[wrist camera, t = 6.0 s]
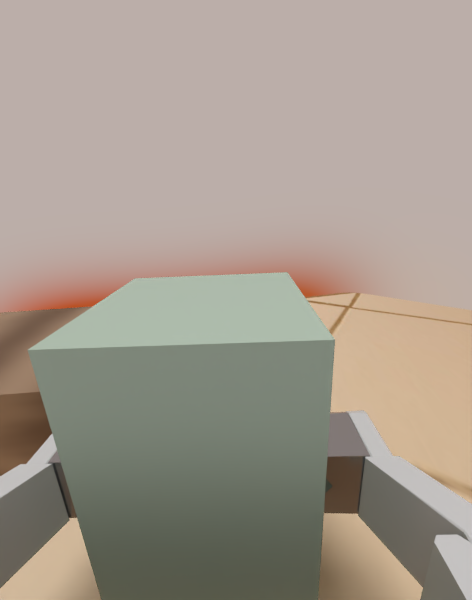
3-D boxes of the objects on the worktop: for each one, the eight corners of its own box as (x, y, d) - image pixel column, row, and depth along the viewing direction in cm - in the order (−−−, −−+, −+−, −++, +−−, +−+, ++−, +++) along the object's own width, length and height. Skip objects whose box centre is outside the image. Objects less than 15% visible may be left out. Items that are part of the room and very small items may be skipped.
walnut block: (-185, 503, 13) (-244, 414, 12) (-1, 368, 25) (-20, 314, 23) (78, 478, 14) (53, 390, 13) (139, 357, 25) (130, 304, 24)
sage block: (132, 704, 7) (27, 350, 4) (172, 520, 12) (134, 278, 9) (310, 705, 7) (334, 339, 4) (285, 519, 11) (287, 272, 8)
